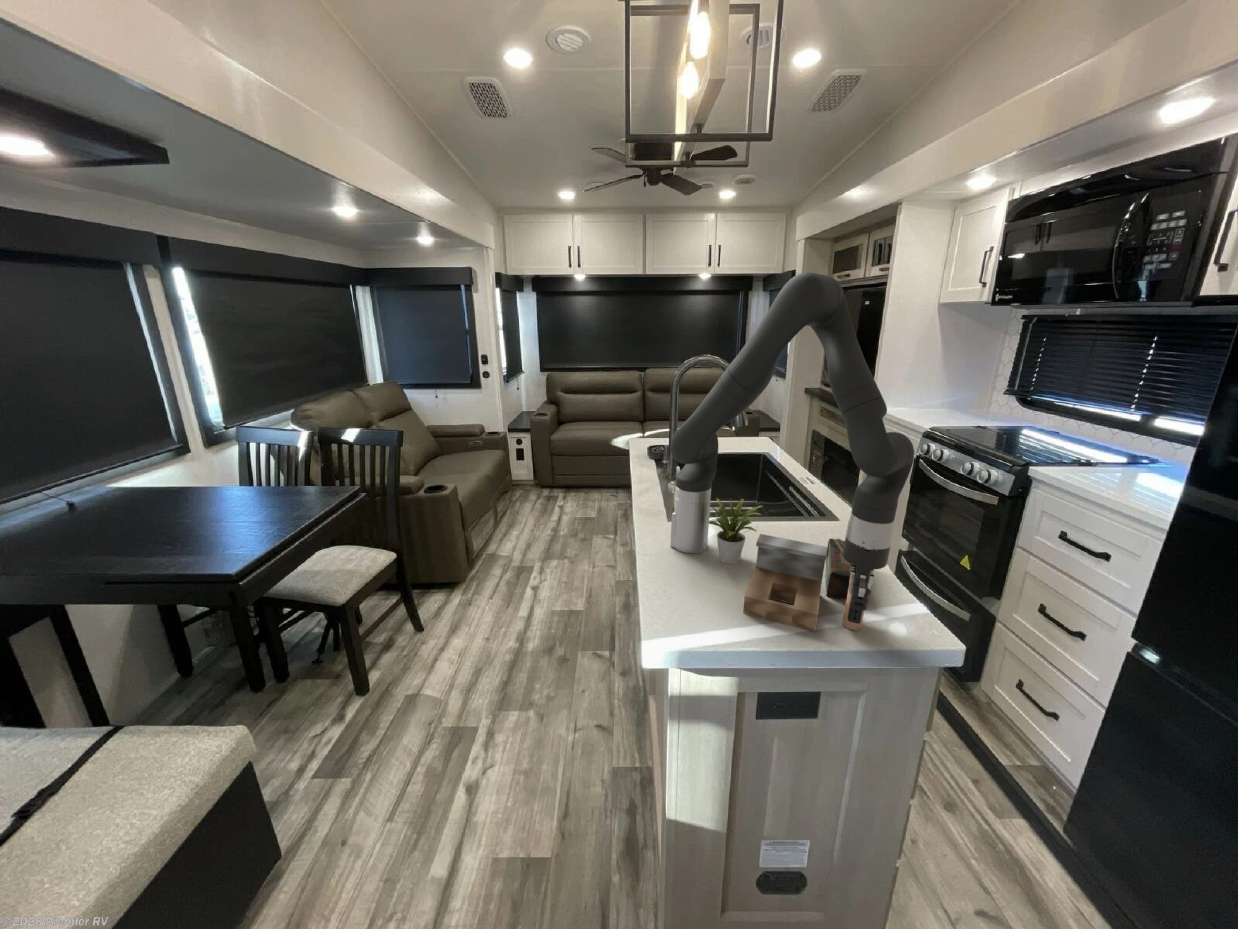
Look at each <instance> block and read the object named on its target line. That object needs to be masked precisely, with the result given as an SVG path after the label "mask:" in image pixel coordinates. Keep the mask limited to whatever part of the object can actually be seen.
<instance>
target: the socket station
mask: <svg viewBox="0 0 1238 929" xmlns="http://www.w3.org/2000/svg"><path fill="white" fill-rule="evenodd" d="M756 540H757V541H756V544H755V546H756V547H757V556H756V566H755V568H754V571H753V574H752V576H751V579H750V582H749V584H748V586H747V589H746V591H745V594H744V600H743V610H742V613H743V614H747V615H749V616H754V617H757V618H761V619H765V620H768V621H773V622H776V623H780V624H784V625H787V626H790V627H794V628H798V629H802V630H805V631H809V632H813V633H815V632H816V630H817V622H818V618H819V609H820V607H819V606H820V602H821V601H820V599H821V591H822V584H823V577H824V570H825V566H826V553H827V546H825V545H820V544H816V543H815V544H814V543H809V542H804V541H799V540H793V539H788V538H785V537H779V536H773V535H767V534H762V533H760V534H759V535H758V538H757V539H756ZM773 599H774V600H773ZM776 600H777V601H776ZM779 601H780V602H779ZM787 603H789V604H787ZM792 604H793V605H792Z"/></svg>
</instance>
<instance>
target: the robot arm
mask: <svg viewBox="0 0 1238 929" xmlns="http://www.w3.org/2000/svg"><path fill="white" fill-rule="evenodd" d="M843 289H844V288H843V286H842V285H841V283H840V282H839V281H838V280H837V279H835V278H834V277H832V276H829V275H826V274H825V275H824V274H821V273H815V272H806V271H805V272H801V273H798V274H797V275H794V276H793V277H792V278H790V279H789V280H788V281H787V282H786V283H785V284H784V285H783V287H782V288H781V289H780V291H779V292H778V294H777V296H776V297H775V299H774V300H773V302H772V304H771V306H770V307H769V308H768V310H767V312H766V313H765V315H764V317H763V319H762V320H761V322H760V324H758V327H757V328H756V329H755V331H754V332H753V333H752V334H751V336H750V337H749V339H747V341H746V343H745V344H744V345H743V347H742V348H741V350H740V351H739V352H738V354H737V355H736V357H734V358H733V360H732V361H731V362H730V363H729V365H728V366H727V368H726V369H725V370H724V371H723V373H722V374H721V375H720V377H719V378H718V380H717V381H716V383H715V384H714V386H712V388H711V389H710V391H709V392H708V393H707V394H706V395H705V397H704V399H703V400H702V402H700V404H699V405H698V407H697V408H696V409H695V410H694V411H693V413H692V414H691V415H690V416H689V417H688V418H687V419H686V420H685V421H684V423H682V424H681V425H680V427H678V429H677V430H676V431H675V432H674V433H673V435H672V438H671V439H670V444H669V445H670V446H669V448H670V454H671V456H672V458H673V459H674V460H675V461H676V462H678V463H679V464H682V465H683V464H684V466H682V469H681V470H680V471H678V473H677V474H676V477H675V488H674V510H673V512H672V513H671V521H670V522H671V524H670V547H671V548H674V549H676V550H677V551H679V552H682V553H685V554H699V553H702V552H705V551H706V550H707V549H708V541H709V527H710V524H709V523H708V522H710V514H711V513H710V512H711V510H710V509H711V497H712V482H713V481H714V479H715V476H716V474H717V465H718V456H719V438H718V435H717V432H718V431H719V430H720V429H721V428H723V427H724V426H725V425H726V424H728V423H729V422H731V421H733V420H734V419H735V418H737V417H738V416H739V415H741V414H742V413H744V412H745V410H747V409H748V408H750V406H751V405H752V404H753V403H754V402H755V401H756V400H757V399H758V398H759V396H761V394H762V393H763V392H764V391H765V390H766V388H767V387H768V386H769V384H770V382H771V380H772V378H773V375H774V373H775V371H776V366H777V365H778V360H779V358H780V356H781V354H782V352H784V350H785V348H786V347H787V346H788V345H789V343H790V342H791V341H792V340H793V339H794V338H795V337H796V336H797V334H799V333H800V332H801V331H802V330H803V329H804V328H805V327H807V326H809V327H810V328H811V329H812V331H813V332H814V333H815V335H816V336H817V338H818V340H819V341H820V343H821V345H822V348H823V351H824V354H825V358H826V364H827V373H828V374H827V375H828V381H829V382H828V383H829V387H830V390H831V392H832V395H833V398H834V401H835V402H836V405H837V406H838V409H839V412H841V415H842V418H843V419H844V421H845V426H846V433H847V439H848V443H849V449H850V453H851V456H852V459H853V461H854V462H855V465H856V466H857V467H858V469H860V470H861V472H863V473H864V474H865V475H866V476H865V479H864V480H863V481H862V482H861V483H860V484H859V485H858V486H857V488H856V489H855V492H854V496H853V500H852V502H853V503H852V505H851V506H852V507H851V513H850V516H849V520H848V521H847V523H848V524H847V527H846V528H847V529H846V533H845V539H844V541H845V544H844V549H843V557H844V558H845V559H846V560H847V561H848V562H849V563H851V566H850V578H849V583H850V587H849V593H850V594H851V599H850V601H849V603H850V607H849V612H848V621H849V622H853V623H857V624H859V623H860V620H861V615H862V610H863V611H864V612H865V611H866V609H867V604H868V601H869V597H870V594H871V589H872V588H871V586H872V584H874V579H875V574H874V571H875V570H882V569H883V568H885V567H887V565H888V562H889V556H890V552H891V551H890V550H891V547H892V542H893V537H894V533H895V532H894V531H895V519H896V514H897V509H898V503H899V498H900V495H901V493H902V491H903V489H904V487H905V484H906V482H907V481H908V480H907V479H908V478H909V475H910V472H911V471H912V467H913V464H914V459H915V448H914V444H913V443H912V440H911V439H910V438H909V437H907V435H906V434H903V433H901V432H896V431H890V432H887V429H886V426H885V423H884V419H883V418H884V417H885V416H886V415H887V412H888V407H887V404H886V402H885V399H884V397H883V394H882V393H881V391H880V389H879V387H878V385H877V383H876V381H875V379H874V376H873V374H872V372H871V370H870V368H869V366H868V364H867V361H866V359H865V357H864V354H863V350H862V349H861V345H860V344H859V341H858V338H857V334H856V330H855V329H854V325H853V322H852V318H851V314H850V310H849V306H848V302H847V298H846V296H845V292H844V290H843ZM850 579H851V581H850ZM853 584H854V588H853Z"/></svg>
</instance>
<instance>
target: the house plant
mask: <svg viewBox="0 0 1238 929" xmlns="http://www.w3.org/2000/svg"><path fill="white" fill-rule="evenodd" d="M716 500H717V503H718V506H719V508H720V512H719V511H718V509H716V508H715V507H713V506H711V508H712V509H713V510H714V511H715V513H716V514H717V516H719V517H716V521H717V522H716V521H714V520H709V522H708V523H709V525H713V526H716V527H719V528H721V531H718V533H717V534H716V538H717V549H718V557H719V559H720V560H721V562H724V563H728V564H736V563H738V562H740V559H741V556H742V553H743V549H744V546H745V542H746V536H745V533H746V531H744V532H743V533H742V532H740V531H742V530H746V529H747V532H748V531H754V532H755V533H756V534H757V531H758V530H757V529H755V528H754V527H752V526H749V525H750V524H753V523H752V522H754V520H755V519H756V517H750V518H748V517H749V516H751V515H759V516H760V515H763V514H761V513H758V511H759V508H762V507H763V505H758V506H756V507H755V506H754V507H753V508H750V509H749V510H747V511H743V512H742V509H743V503H744V498H743V497H741V498H740V499H739V502H738V503H737V505H736V507H735V509H734V505H733V502H732V500H731V498H729V506H730V509H729V508H728V509H726V507H725V505H724V503H722V501H721V499H719V498H718V497H716ZM727 510H729V512H730V516H729V517H728V513H727ZM756 511H757V512H756ZM741 515H742V516H741ZM739 516H741V517H740V518H739Z"/></svg>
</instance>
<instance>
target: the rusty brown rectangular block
mask: <svg viewBox="0 0 1238 929" xmlns="http://www.w3.org/2000/svg"><path fill="white" fill-rule="evenodd" d="M827 542H828V543H827V546H826V547H827V553H826V561H825V592H826V594H825V595H826V597H831V598H836V599H839V600H845V601H846V600H847V594H848V589H849V578H850V566H851V563H849V562H848V561H847V560H846V559H845V558H844V557H843V549H844V544H845V540H843V539H841V538H829V539H828V541H827Z"/></svg>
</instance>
